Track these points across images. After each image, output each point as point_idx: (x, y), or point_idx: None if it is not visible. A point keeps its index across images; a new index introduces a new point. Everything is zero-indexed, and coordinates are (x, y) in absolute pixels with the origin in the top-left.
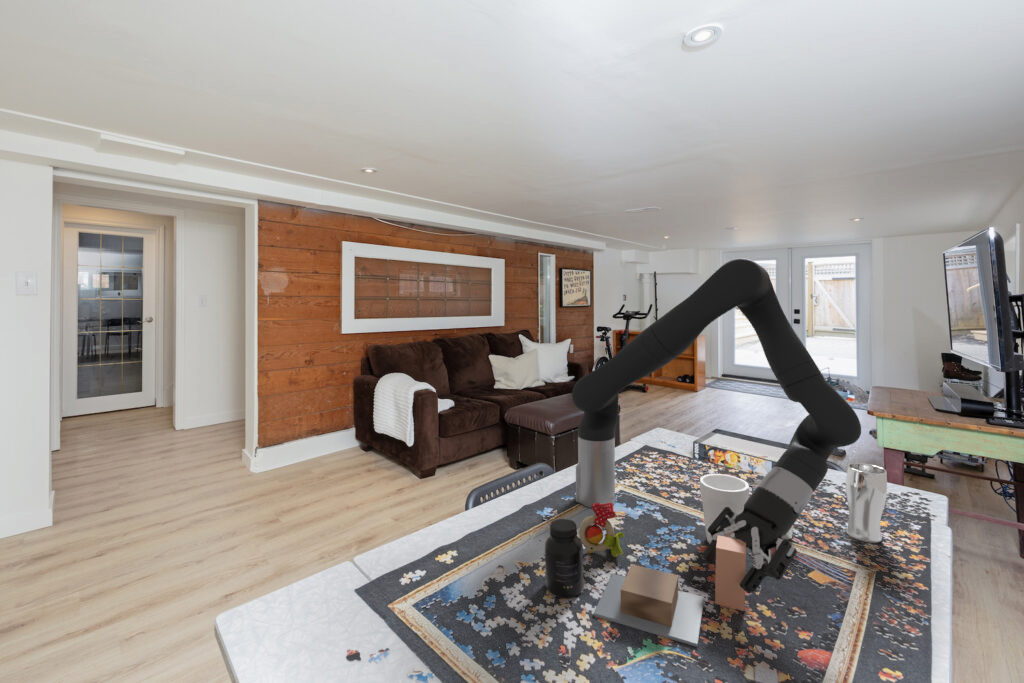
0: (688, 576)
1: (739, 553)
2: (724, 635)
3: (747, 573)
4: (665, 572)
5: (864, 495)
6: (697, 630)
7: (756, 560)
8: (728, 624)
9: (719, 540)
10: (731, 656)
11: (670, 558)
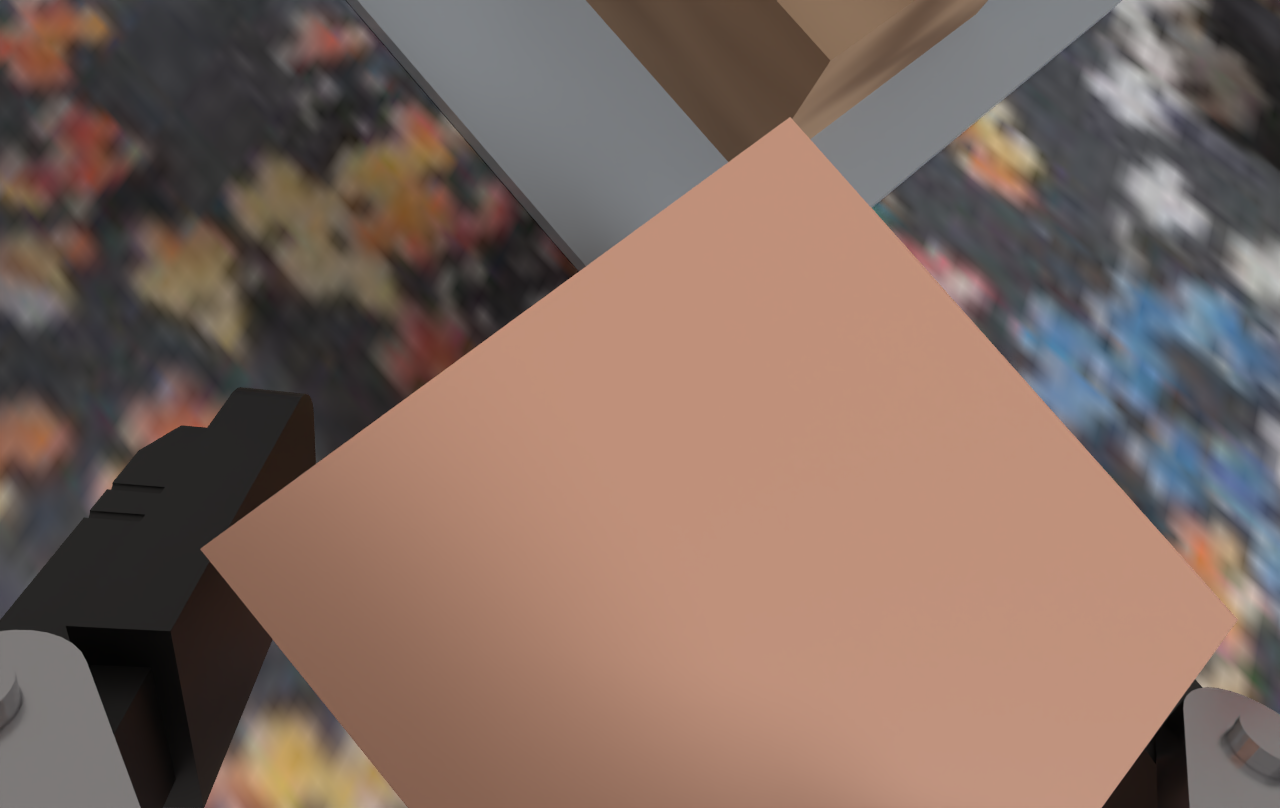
0: None
1: (364, 441)
2: (280, 185)
3: (228, 508)
4: (912, 2)
5: None
6: (394, 24)
7: (48, 778)
8: (353, 311)
9: (1021, 450)
10: (97, 56)
11: (1211, 552)
